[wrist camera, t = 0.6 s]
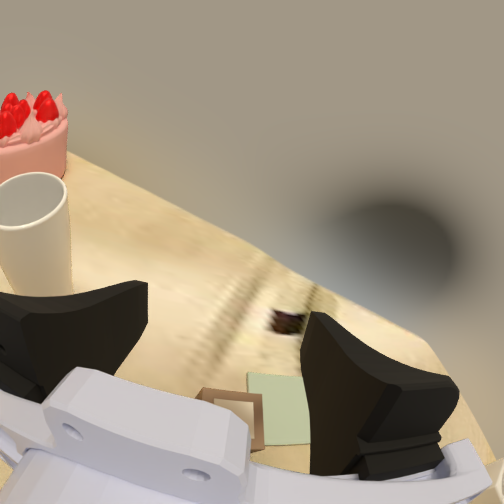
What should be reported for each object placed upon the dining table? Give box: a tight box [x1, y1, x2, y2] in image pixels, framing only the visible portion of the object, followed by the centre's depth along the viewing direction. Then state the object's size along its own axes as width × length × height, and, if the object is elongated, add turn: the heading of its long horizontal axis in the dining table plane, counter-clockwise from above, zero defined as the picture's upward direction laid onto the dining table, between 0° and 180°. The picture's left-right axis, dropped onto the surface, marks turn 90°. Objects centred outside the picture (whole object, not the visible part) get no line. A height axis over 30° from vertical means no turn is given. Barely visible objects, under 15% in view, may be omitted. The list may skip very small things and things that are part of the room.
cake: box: [0, 90, 68, 184], centre depth 29 cm, size 20×20×14 cm
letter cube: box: [195, 387, 265, 453], centre depth 20 cm, size 5×5×5 cm
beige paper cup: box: [0, 172, 74, 297], centre depth 18 cm, size 7×7×15 cm
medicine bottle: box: [469, 457, 504, 504], centre depth 14 cm, size 7×7×12 cm
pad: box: [247, 372, 310, 446], centre depth 25 cm, size 8×8×1 cm
